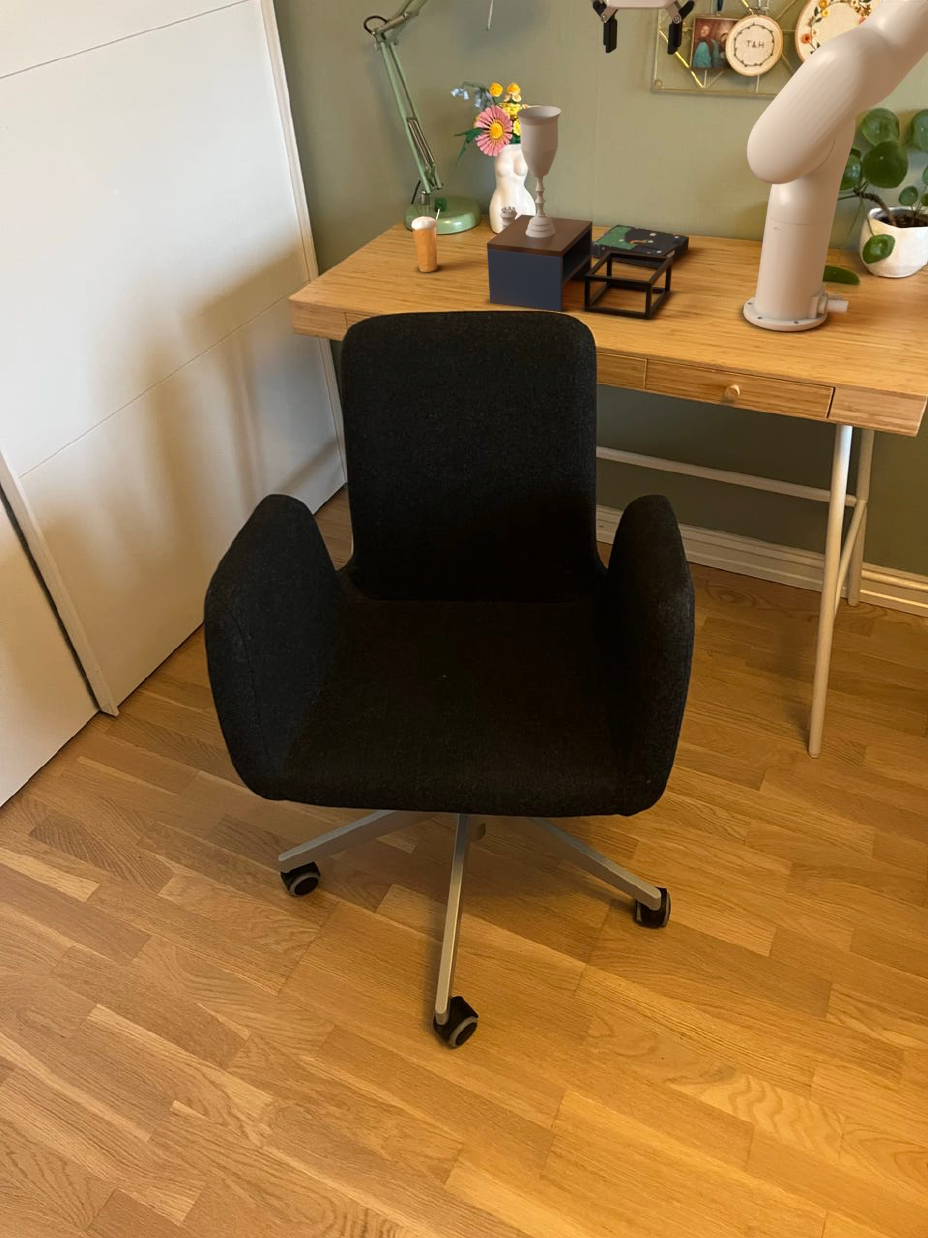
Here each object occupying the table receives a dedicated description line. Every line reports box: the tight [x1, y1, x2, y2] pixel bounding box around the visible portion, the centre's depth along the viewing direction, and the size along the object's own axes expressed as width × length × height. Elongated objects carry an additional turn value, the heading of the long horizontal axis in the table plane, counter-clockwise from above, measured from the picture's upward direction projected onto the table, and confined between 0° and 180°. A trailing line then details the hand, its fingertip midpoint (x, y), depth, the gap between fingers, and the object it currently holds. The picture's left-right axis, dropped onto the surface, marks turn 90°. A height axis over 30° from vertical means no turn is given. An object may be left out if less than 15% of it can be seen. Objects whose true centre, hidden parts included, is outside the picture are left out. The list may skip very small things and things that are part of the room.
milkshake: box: [411, 209, 441, 273], centre depth 173 cm, size 4×5×10 cm
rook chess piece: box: [499, 205, 518, 231], centre depth 177 cm, size 4×4×8 cm
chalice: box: [516, 105, 562, 238], centre depth 153 cm, size 7×7×18 cm
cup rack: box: [583, 251, 674, 320], centre depth 157 cm, size 11×11×6 cm
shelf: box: [486, 214, 593, 313], centre depth 162 cm, size 13×14×10 cm
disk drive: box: [592, 224, 690, 269], centre depth 174 cm, size 10×3×15 cm
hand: (641, 51), depth 145 cm, fingers open, 9 cm apart
